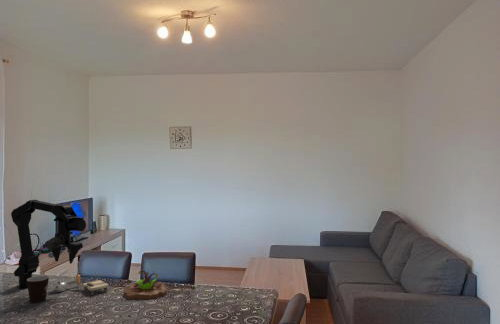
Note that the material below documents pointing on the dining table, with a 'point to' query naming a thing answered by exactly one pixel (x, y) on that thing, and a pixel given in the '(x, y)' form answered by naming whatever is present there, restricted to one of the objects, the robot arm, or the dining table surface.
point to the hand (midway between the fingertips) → (63, 262)
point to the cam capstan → (65, 284)
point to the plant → (145, 288)
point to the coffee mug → (37, 288)
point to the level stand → (93, 286)
